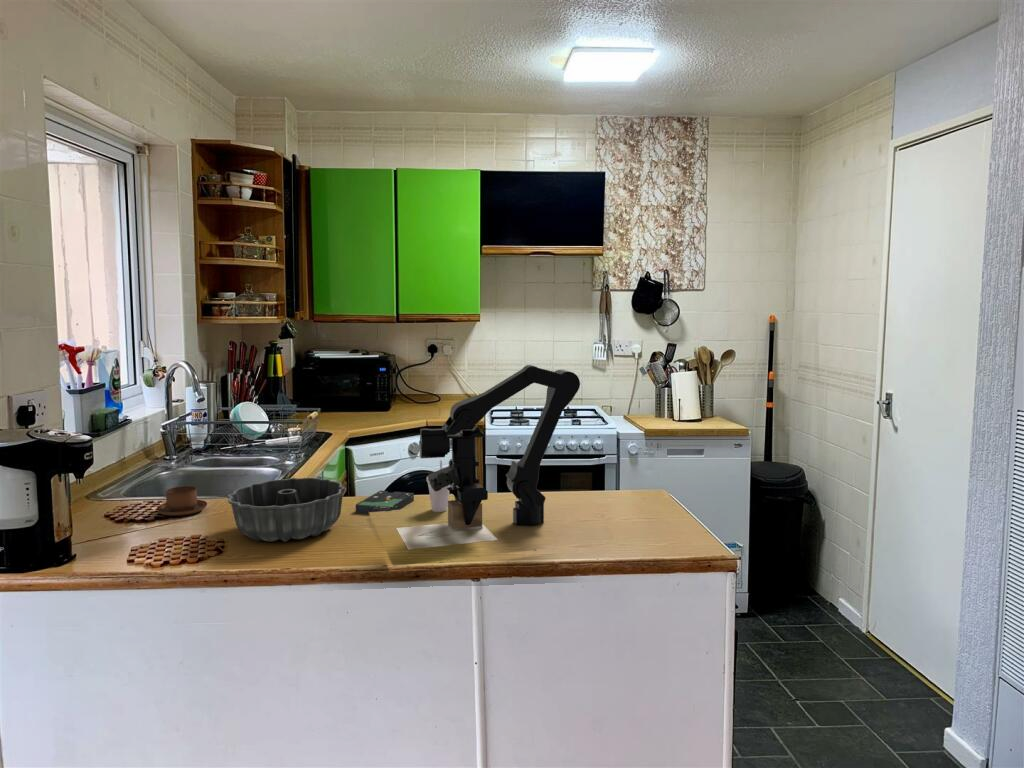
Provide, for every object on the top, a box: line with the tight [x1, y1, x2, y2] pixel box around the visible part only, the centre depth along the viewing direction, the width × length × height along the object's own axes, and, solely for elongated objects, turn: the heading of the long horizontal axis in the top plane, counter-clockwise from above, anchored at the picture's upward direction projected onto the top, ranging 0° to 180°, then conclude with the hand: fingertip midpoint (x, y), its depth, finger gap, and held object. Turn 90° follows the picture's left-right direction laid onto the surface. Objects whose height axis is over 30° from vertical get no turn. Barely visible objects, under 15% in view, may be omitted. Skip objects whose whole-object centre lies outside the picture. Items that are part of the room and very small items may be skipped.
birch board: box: [396, 522, 498, 551], centre depth 169 cm, size 20×16×1 cm
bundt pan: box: [227, 477, 346, 543], centre depth 175 cm, size 26×26×10 cm
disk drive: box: [355, 490, 415, 515], centre depth 196 cm, size 10×3×15 cm
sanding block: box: [447, 499, 483, 532], centre depth 173 cm, size 7×5×6 cm
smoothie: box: [426, 459, 450, 513], centre depth 188 cm, size 6×6×14 cm
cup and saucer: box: [156, 485, 208, 517], centre depth 192 cm, size 12×12×6 cm
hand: (465, 521), depth 174 cm, fingers closed on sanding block, 5 cm apart
